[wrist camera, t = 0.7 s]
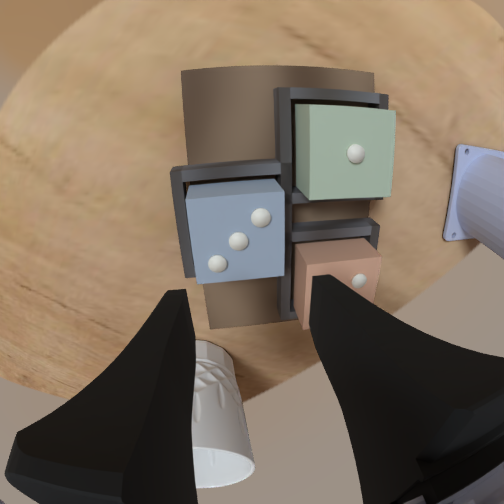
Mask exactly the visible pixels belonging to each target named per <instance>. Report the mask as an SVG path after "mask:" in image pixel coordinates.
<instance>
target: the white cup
mask: <svg viewBox="0 0 504 504" xmlns="http://www.w3.org/2000/svg"><path fill="white" fill-rule="evenodd" d="M192 446H193V461H194V473H195V483H196V488H212V487H221V486H226V485H231V484H234V483H237V482H240V481H242V480H244V479H246V478H248V477H249V476H250V475H251V474H252V473H253V472H254V470H255V464H254V459H253V454H252V449H251V444H250V439H249V434H248V429H247V424H246V419H245V414H244V409H243V403H242V399H241V395H240V391H239V387H238V385H237V382H236V378H235V372H234V366H233V360H232V358H231V357H230V356H229V355H228V353H227V352H226V351H225V350H224V349H223V348H222V347H219V346H217V345H215V344H212V343H210V342H208V341H203V340H196V371H195V383H194V395H193V408H192Z"/></svg>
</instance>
